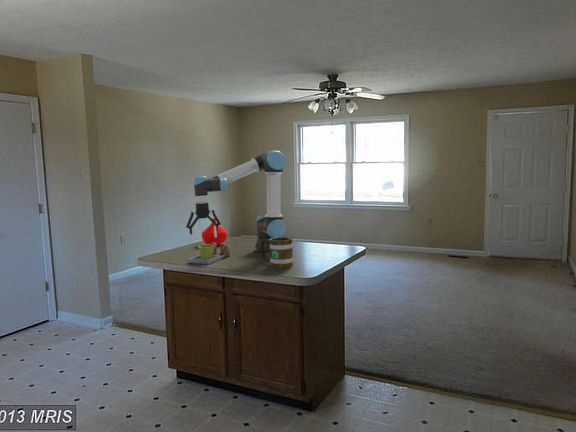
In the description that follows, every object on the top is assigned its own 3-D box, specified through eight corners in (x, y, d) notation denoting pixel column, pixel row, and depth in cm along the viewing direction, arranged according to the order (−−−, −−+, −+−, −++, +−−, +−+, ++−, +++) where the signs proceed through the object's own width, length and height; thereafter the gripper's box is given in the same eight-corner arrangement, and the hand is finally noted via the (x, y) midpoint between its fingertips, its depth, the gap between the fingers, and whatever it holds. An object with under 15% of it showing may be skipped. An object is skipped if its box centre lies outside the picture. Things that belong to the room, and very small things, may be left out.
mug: (298, 264, 255) (297, 237, 253) (286, 269, 243) (285, 241, 241) (268, 261, 264) (267, 236, 263) (255, 266, 253) (254, 239, 251)
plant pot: (201, 262, 263) (200, 247, 262) (196, 259, 272) (196, 245, 271) (216, 260, 268) (216, 246, 267) (211, 257, 276) (211, 243, 275)
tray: (221, 259, 273) (220, 255, 273) (208, 264, 260) (208, 260, 260) (201, 258, 278) (201, 254, 278) (188, 263, 265) (187, 259, 265)
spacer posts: (236, 254, 289) (235, 243, 288) (222, 259, 273) (221, 248, 272) (212, 252, 295) (212, 242, 295) (198, 258, 280) (197, 246, 279)
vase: (207, 242, 336) (206, 217, 334) (231, 242, 332) (230, 217, 330) (198, 247, 318) (196, 220, 316) (222, 247, 314) (221, 220, 312)
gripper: (221, 200, 273) (223, 235, 276) (179, 203, 264) (182, 239, 267) (224, 201, 267) (226, 236, 269) (181, 204, 257) (184, 241, 260)
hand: (204, 238), depth 268 cm, fingers open, 13 cm apart
